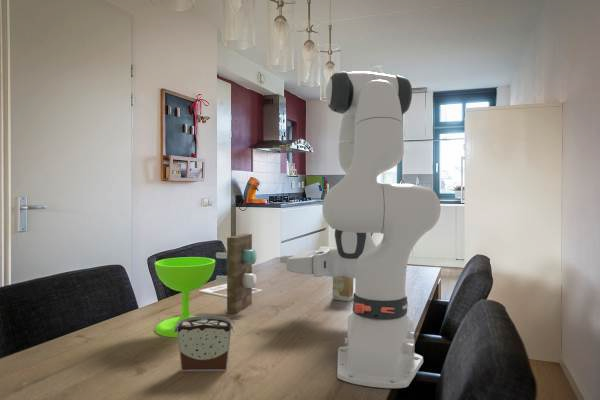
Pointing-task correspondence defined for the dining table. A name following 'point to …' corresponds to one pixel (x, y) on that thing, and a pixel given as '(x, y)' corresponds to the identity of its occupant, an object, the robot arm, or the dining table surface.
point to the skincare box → (342, 288)
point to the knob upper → (247, 256)
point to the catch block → (238, 273)
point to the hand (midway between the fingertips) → (281, 259)
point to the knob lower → (247, 280)
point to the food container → (204, 342)
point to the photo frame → (220, 288)
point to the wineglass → (182, 284)
